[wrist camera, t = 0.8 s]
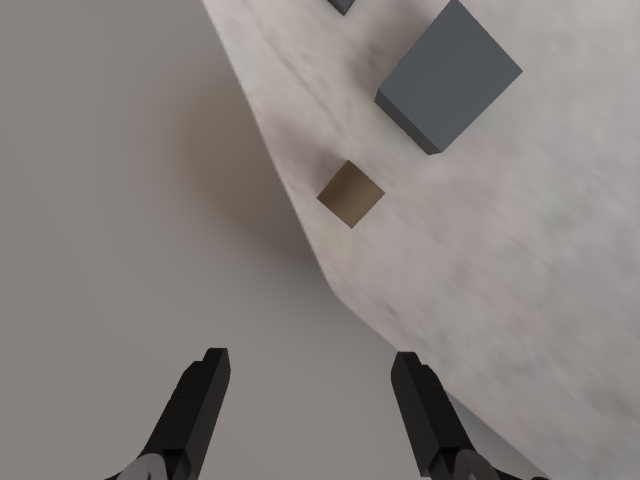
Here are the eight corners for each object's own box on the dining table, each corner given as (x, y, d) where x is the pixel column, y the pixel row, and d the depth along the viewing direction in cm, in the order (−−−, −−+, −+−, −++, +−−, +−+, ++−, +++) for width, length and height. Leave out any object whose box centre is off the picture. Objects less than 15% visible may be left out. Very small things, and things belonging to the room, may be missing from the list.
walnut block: (375, 186, 32) (385, 193, 23) (352, 212, 34) (351, 228, 24) (349, 162, 32) (348, 159, 22) (326, 190, 34) (316, 198, 24)
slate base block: (493, 88, 28) (523, 71, 23) (428, 155, 31) (441, 152, 26) (436, 27, 27) (454, -5, 22) (374, 102, 30) (378, 89, 25)
